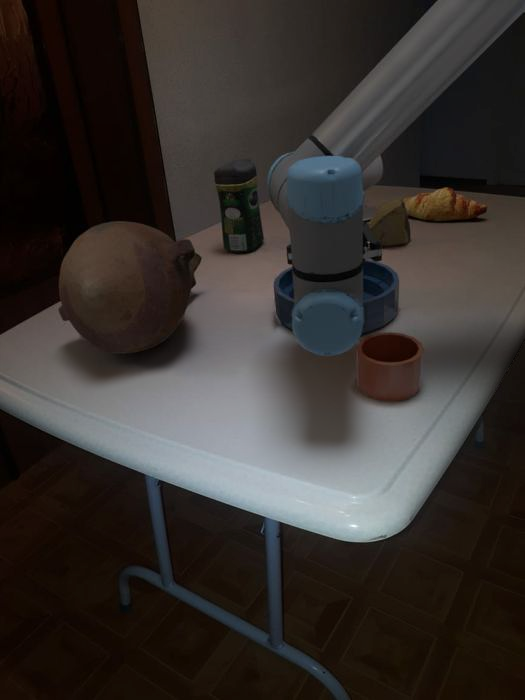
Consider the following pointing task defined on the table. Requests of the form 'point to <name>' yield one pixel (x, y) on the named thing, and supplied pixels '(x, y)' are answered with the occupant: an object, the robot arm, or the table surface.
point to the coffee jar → (239, 205)
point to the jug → (126, 285)
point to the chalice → (371, 182)
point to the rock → (391, 223)
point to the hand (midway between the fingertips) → (337, 217)
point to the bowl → (376, 295)
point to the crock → (389, 366)
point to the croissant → (443, 206)
